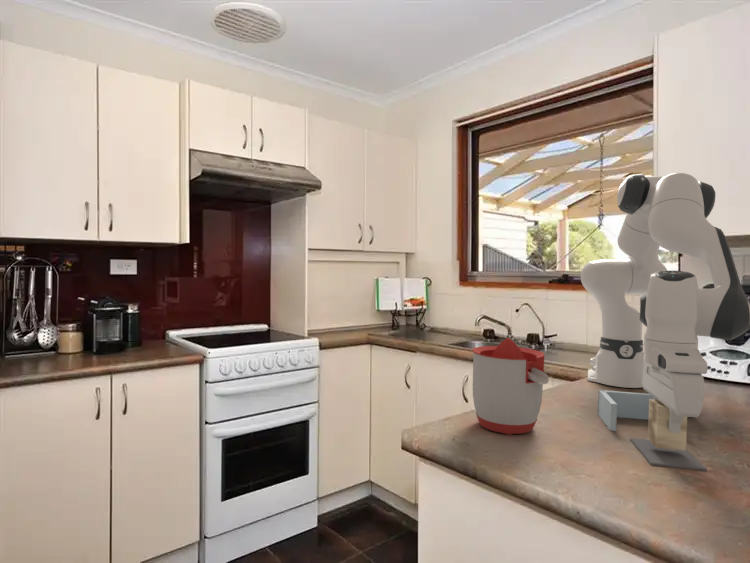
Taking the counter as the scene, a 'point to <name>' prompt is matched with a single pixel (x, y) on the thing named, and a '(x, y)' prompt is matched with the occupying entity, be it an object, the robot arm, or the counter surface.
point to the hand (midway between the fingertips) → (667, 425)
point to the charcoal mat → (667, 456)
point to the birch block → (664, 428)
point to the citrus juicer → (508, 387)
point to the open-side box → (622, 406)
